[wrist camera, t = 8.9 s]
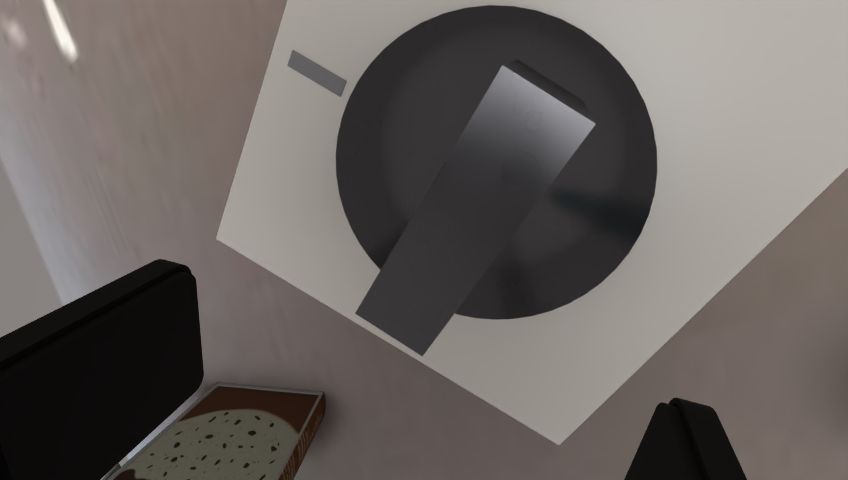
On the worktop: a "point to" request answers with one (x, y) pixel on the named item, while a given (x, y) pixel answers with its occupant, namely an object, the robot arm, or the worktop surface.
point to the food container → (232, 437)
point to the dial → (492, 169)
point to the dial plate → (670, 211)
